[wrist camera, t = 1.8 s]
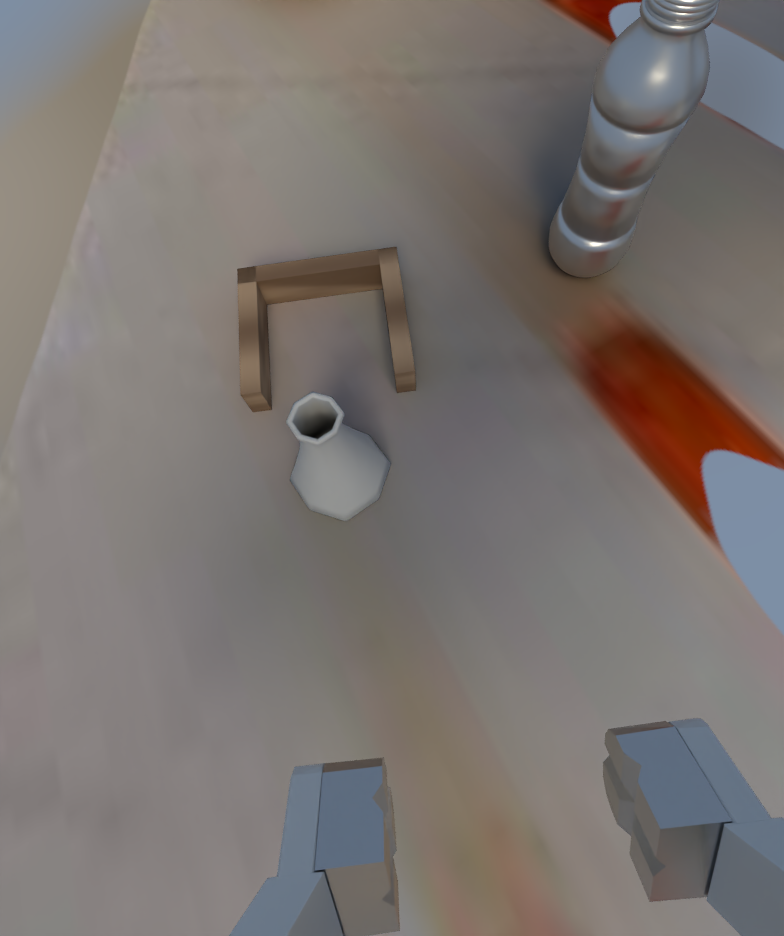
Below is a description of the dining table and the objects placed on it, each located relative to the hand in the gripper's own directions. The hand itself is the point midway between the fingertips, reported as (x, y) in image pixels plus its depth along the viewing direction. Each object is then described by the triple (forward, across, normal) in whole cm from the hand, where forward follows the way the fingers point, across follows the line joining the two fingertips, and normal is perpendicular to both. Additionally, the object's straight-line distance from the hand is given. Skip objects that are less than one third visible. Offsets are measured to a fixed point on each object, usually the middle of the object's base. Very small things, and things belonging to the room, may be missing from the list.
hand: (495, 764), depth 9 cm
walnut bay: (+38, +6, +1) cm, 38 cm away
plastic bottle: (+42, -17, -3) cm, 45 cm away
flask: (+30, +6, +9) cm, 32 cm away
